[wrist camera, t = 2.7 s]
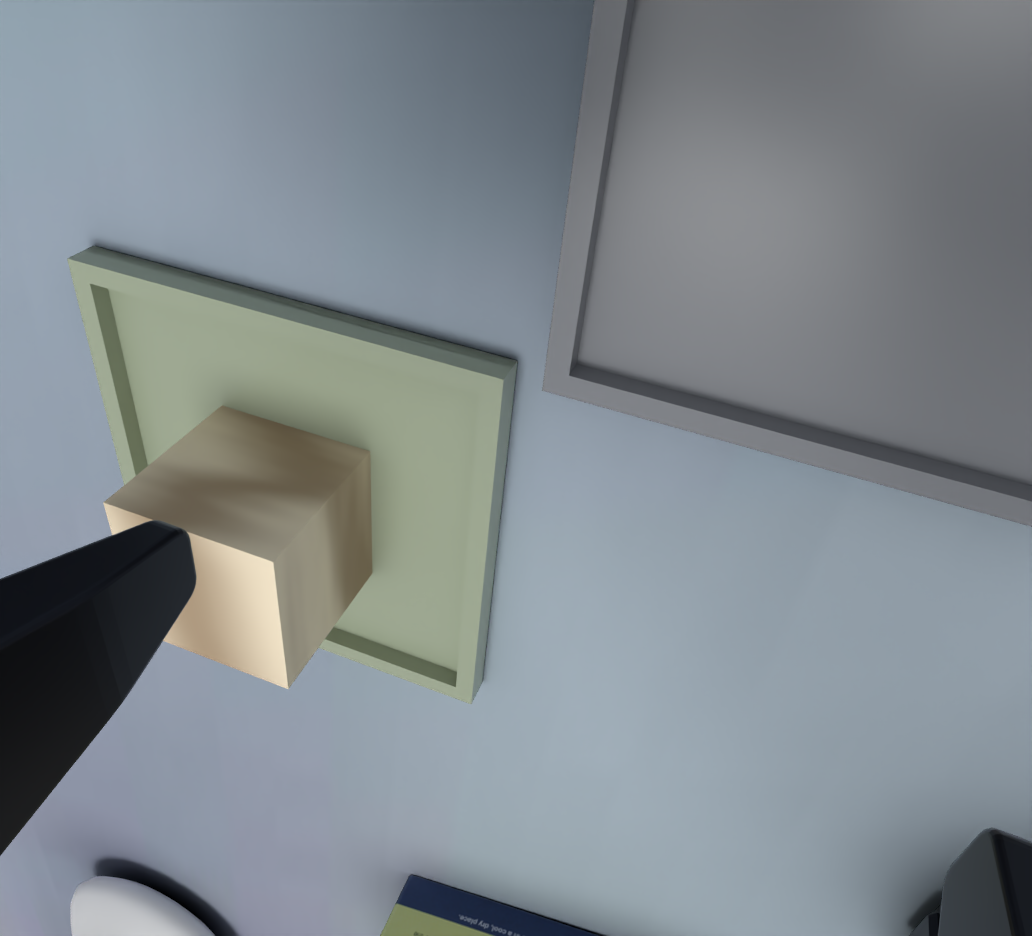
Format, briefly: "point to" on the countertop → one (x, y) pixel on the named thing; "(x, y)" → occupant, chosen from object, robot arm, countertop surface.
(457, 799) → the countertop surface
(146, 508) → the birch block
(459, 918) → the protein box
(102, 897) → the flower in vase
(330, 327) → the olive tray
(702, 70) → the charcoal tray
